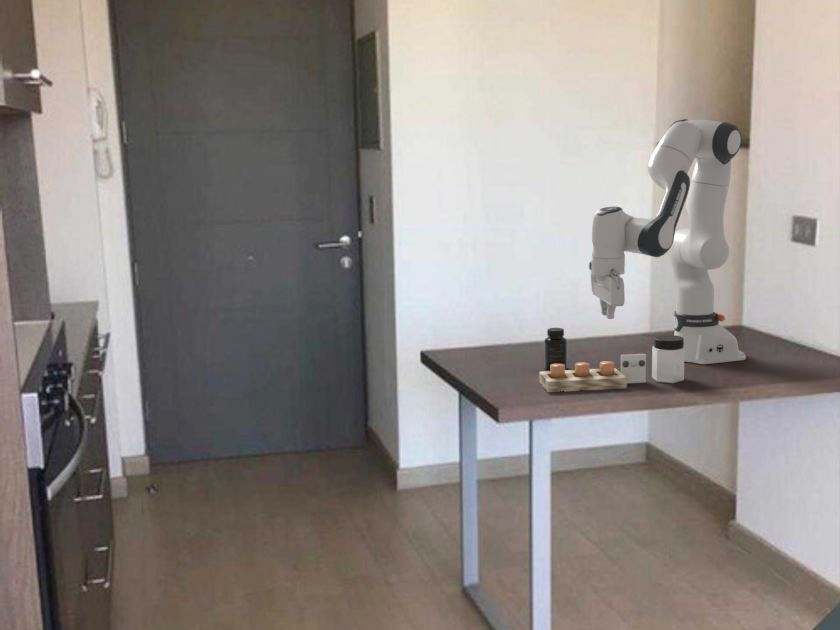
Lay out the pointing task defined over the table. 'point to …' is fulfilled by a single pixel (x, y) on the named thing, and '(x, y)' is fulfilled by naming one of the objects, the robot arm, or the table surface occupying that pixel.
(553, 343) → the supplement bottle
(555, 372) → the button
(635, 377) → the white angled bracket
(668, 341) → the jar
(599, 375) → the wooden egg tray
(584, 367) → the button mid
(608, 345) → the table surface
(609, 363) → the button
